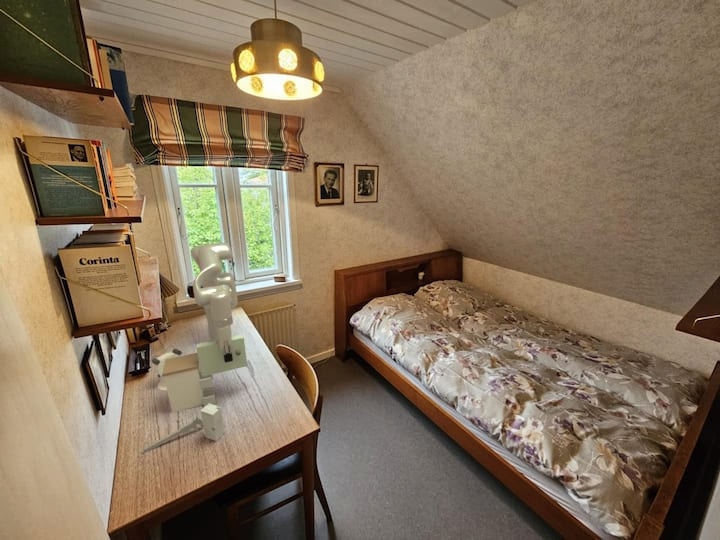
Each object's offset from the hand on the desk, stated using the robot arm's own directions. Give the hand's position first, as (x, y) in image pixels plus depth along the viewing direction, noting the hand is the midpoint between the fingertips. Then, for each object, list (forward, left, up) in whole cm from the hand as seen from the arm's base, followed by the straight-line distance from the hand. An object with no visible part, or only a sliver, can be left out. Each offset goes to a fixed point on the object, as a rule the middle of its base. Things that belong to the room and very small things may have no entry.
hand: (228, 358), depth 134 cm
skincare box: (+21, -8, -19) cm, 29 cm away
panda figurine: (-21, -26, -19) cm, 38 cm away
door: (0, -2, -5) cm, 5 cm away
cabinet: (-3, -16, -18) cm, 24 cm away
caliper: (+17, -22, -19) cm, 34 cm away
